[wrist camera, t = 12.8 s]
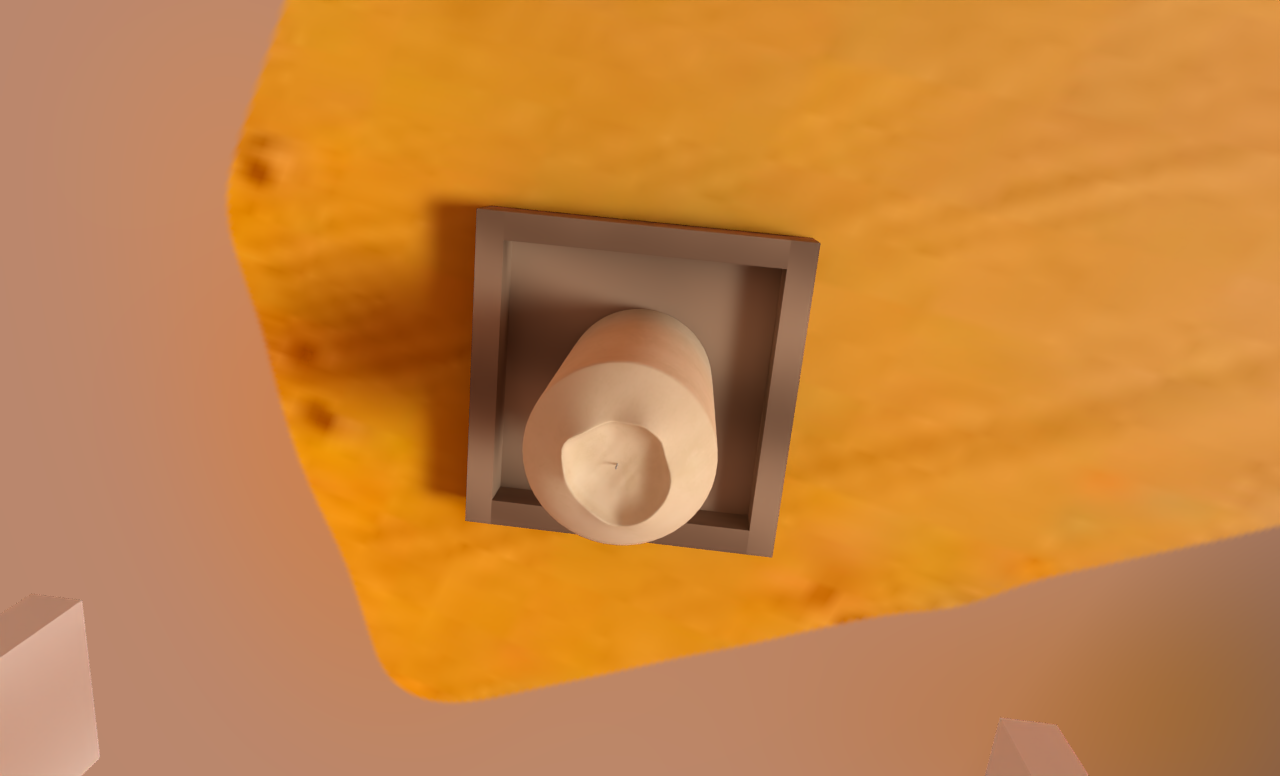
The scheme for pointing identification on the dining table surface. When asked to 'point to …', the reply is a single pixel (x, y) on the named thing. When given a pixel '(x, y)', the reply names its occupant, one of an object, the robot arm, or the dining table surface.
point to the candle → (625, 431)
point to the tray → (639, 279)
